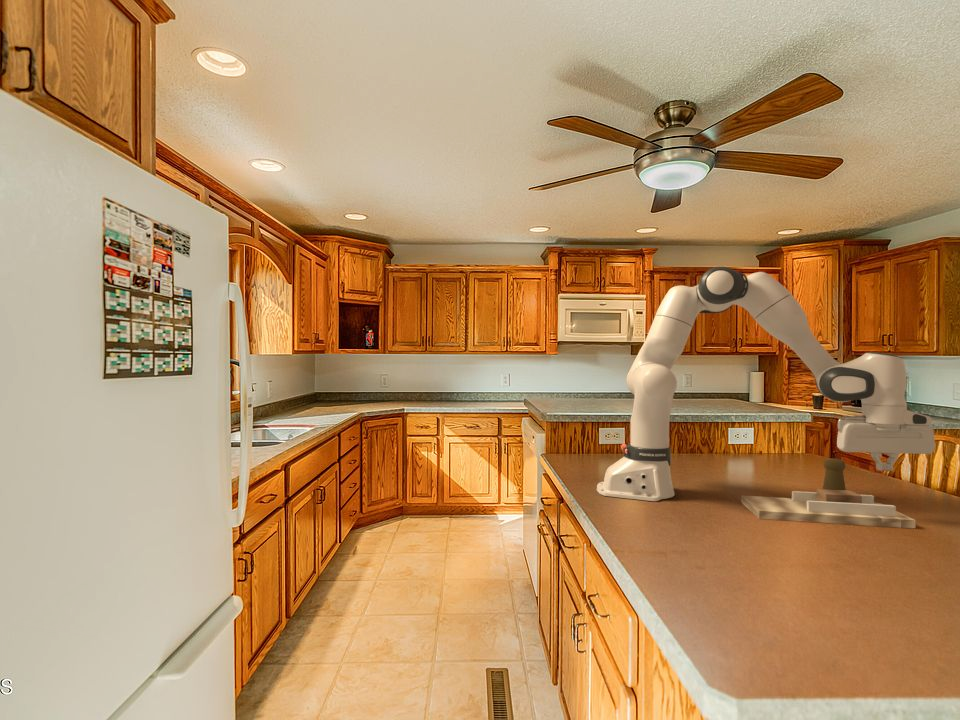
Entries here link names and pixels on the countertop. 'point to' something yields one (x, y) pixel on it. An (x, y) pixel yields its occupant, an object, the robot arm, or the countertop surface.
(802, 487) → the countertop surface
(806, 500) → the channel walls
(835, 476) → the cork
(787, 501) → the board
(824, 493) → the walnut block
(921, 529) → the countertop surface
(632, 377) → the robot arm
